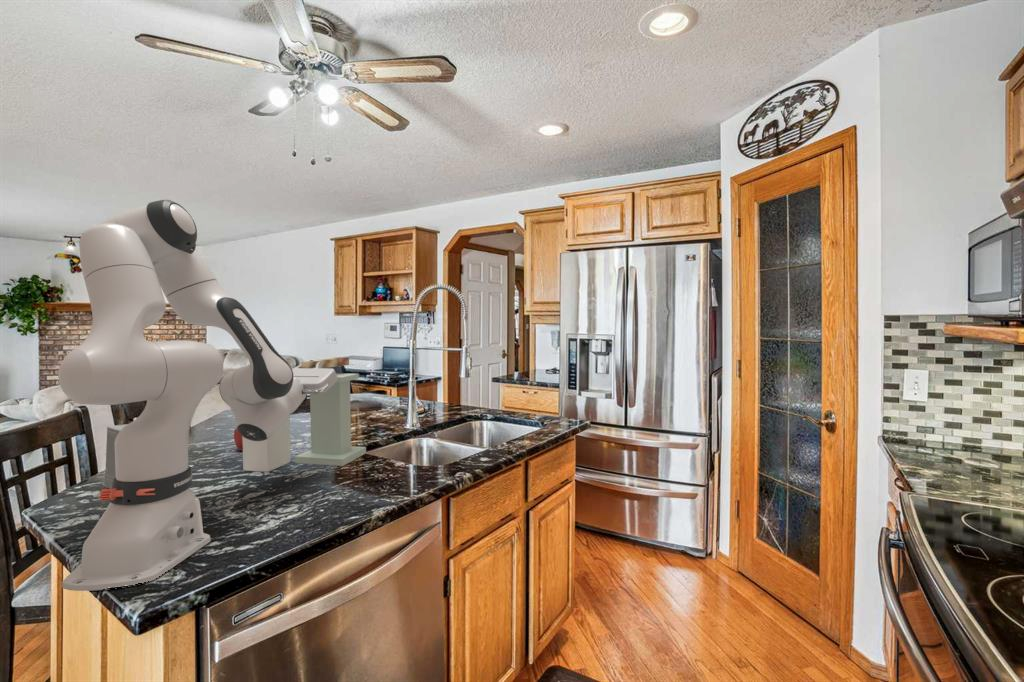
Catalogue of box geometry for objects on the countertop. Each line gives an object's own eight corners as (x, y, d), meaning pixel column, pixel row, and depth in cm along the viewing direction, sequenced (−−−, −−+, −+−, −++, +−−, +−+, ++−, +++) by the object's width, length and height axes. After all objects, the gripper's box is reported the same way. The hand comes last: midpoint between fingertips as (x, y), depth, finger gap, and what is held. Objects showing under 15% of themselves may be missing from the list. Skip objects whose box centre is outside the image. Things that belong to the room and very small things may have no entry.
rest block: (268, 471, 137) (266, 408, 136) (243, 470, 138) (241, 408, 137) (290, 461, 146) (289, 402, 146) (267, 460, 148) (265, 402, 147)
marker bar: (311, 370, 135) (311, 362, 135) (298, 370, 136) (298, 362, 136) (349, 364, 155) (349, 357, 155) (337, 364, 156) (337, 357, 156)
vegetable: (236, 446, 164) (235, 417, 164) (270, 443, 168) (269, 415, 168) (232, 455, 154) (231, 424, 154) (268, 451, 159) (268, 421, 158)
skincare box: (104, 488, 124) (101, 427, 123) (136, 480, 130) (134, 421, 129) (120, 493, 120) (118, 430, 119) (153, 484, 126) (151, 424, 125)
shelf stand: (343, 465, 142) (341, 378, 141) (294, 463, 145) (292, 377, 144) (366, 453, 156) (364, 373, 155) (321, 450, 159) (319, 372, 158)
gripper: (318, 383, 125) (343, 354, 136) (250, 383, 129) (279, 354, 140) (326, 402, 128) (349, 372, 140) (259, 401, 132) (287, 372, 144)
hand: (313, 363), depth 140 cm, fingers closed on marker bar, 2 cm apart
